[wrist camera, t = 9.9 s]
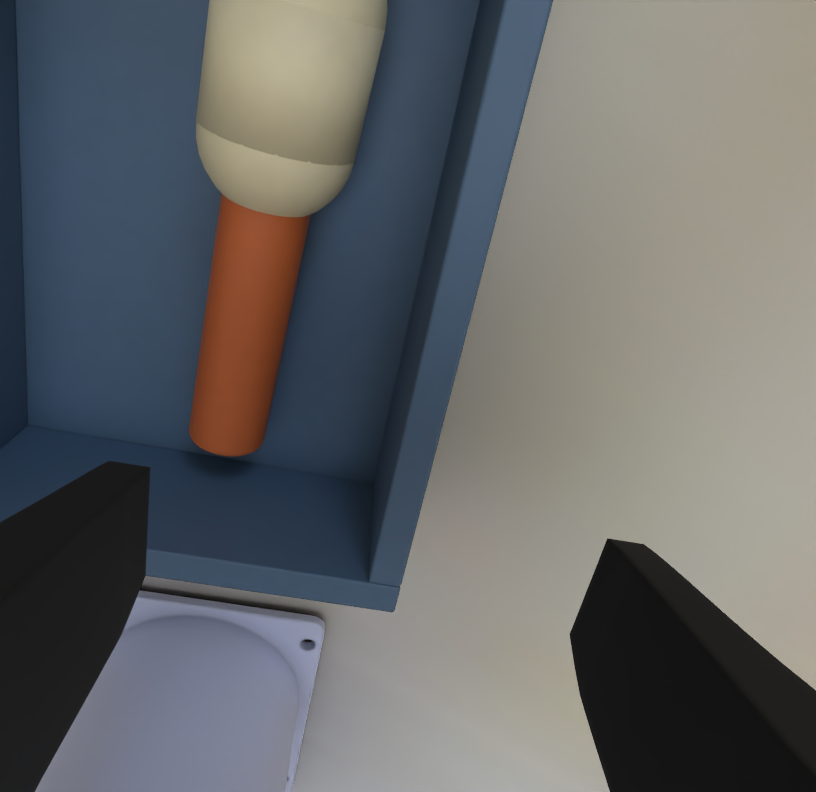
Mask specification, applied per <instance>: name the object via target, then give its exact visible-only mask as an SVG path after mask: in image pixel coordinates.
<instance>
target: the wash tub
mask: <svg viewBox="0 0 816 792" xmlns="http://www.w3.org/2000/svg"><path fill="white" fill-rule="evenodd" d="M552 2H553V0H387V6H388V12H387V19H386V27H385V33H384V37H383V42H382V46H381V50H380V55H379V59H378V63H377V68H376V72H375V76H374V81H373V85H372V89H371V94H370V98H369V102H368V107H367V111H366V115H365V120H364V124H363V128H362V133H361V137H360V141H359V146H358V150H357V154H356V159H355V162H354V165H353V168H352V171H351V174H350V177H349V179H348V180H347V182H346V184H345V185H344V187H343V189H342V190H341V191H340V192H339V194H338V195H337V196H336V197H335V198H334V199H333V200H332V201H331V202H330V203H328V204H327V205H326V206H324V207H323V208H322V209H320V210H319V211H317V212H315V213H312V214H311V216H310V221H309V226H308V231H307V235H306V240H305V245H304V250H303V255H302V260H301V264H300V269H299V274H298V279H297V284H296V288H295V293H294V298H293V303H292V308H291V313H290V317H289V322H288V327H287V332H286V337H285V342H284V346H283V351H282V356H281V361H280V366H279V370H278V375H277V380H276V385H275V390H274V395H273V399H272V404H271V409H270V414H269V419H268V424H267V428H266V433H265V438H264V442H263V443H262V445H261V446H260V447H259V448H258V449H257V450H256V451H254V452H252V453H250V454H247V455H243V456H221V455H216V454H213V453H210V452H207V451H205V450H203V449H202V448H200V447H199V446H197V445H196V444H195V443H194V442H193V440H192V439H191V437H190V434H189V424H190V417H191V409H192V402H193V395H194V388H195V381H196V373H197V366H198V359H199V352H200V344H201V337H202V330H203V323H204V316H205V308H206V301H207V294H208V287H209V280H210V272H211V265H212V258H213V251H214V243H215V236H216V229H217V222H218V215H219V207H220V200H221V192H220V191H219V190H218V189H217V188H216V186H215V185H214V183H213V182H212V180H211V178H210V177H209V175H208V174H207V172H206V170H205V169H204V166H203V163H202V161H201V158H200V156H199V152H198V146H197V141H196V114H197V106H198V97H199V88H200V79H201V70H202V62H203V53H204V44H205V35H206V26H207V18H208V9H209V0H0V522H2V521H3V520H5V519H7V518H9V517H10V516H12V515H14V514H16V513H18V512H19V511H21V510H23V509H25V508H26V507H28V506H30V505H32V504H34V503H35V502H37V501H39V500H41V499H42V498H44V497H46V496H48V495H49V494H51V493H53V492H55V491H56V490H58V489H60V488H61V487H63V486H65V485H67V484H68V483H70V482H72V481H73V480H75V479H77V478H79V477H80V476H82V475H84V474H85V473H87V472H89V471H91V470H92V469H94V468H96V467H98V466H100V465H102V464H104V463H105V462H107V461H114V462H120V463H127V464H133V465H140V466H146V467H150V486H149V509H148V531H147V554H146V576H152V577H159V578H166V579H173V580H179V581H186V582H193V583H199V584H206V585H213V586H220V587H226V588H233V589H240V590H246V591H253V592H260V593H267V594H273V595H280V596H287V597H293V598H300V599H307V600H314V601H320V602H327V603H334V604H340V605H347V606H354V607H361V608H367V609H374V610H381V611H387V612H393V611H394V610H395V606H396V603H397V599H398V595H399V591H400V585H401V583H402V579H403V576H404V572H405V568H406V564H407V560H408V556H409V552H410V549H411V545H412V541H413V537H414V533H415V529H416V526H417V522H418V518H419V514H420V510H421V506H422V502H423V499H424V495H425V491H426V487H427V483H428V479H429V476H430V472H431V468H432V464H433V460H434V456H435V452H436V449H437V445H438V441H439V437H440V433H441V429H442V426H443V422H444V418H445V414H446V410H447V406H448V402H449V399H450V395H451V391H452V387H453V383H454V379H455V376H456V372H457V368H458V364H459V360H460V356H461V352H462V349H463V345H464V341H465V337H466V333H467V329H468V325H469V322H470V318H471V314H472V310H473V306H474V302H475V299H476V295H477V291H478V287H479V283H480V279H481V275H482V272H483V268H484V264H485V260H486V256H487V252H488V249H489V245H490V241H491V237H492V233H493V229H494V225H495V222H496V218H497V214H498V210H499V206H500V202H501V199H502V195H503V191H504V187H505V183H506V179H507V175H508V172H509V168H510V164H511V160H512V156H513V152H514V149H515V145H516V141H517V137H518V133H519V129H520V125H521V122H522V118H523V114H524V110H525V106H526V102H527V99H528V95H529V91H530V87H531V83H532V79H533V75H534V72H535V68H536V64H537V60H538V56H539V52H540V49H541V45H542V41H543V37H544V33H545V29H546V25H547V22H548V18H549V14H550V10H551V6H552Z"/></svg>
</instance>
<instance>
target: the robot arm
mask: <svg viewBox="0 0 816 792" xmlns="http://www.w3.org/2000/svg"><path fill="white" fill-rule="evenodd" d="M149 486H150V467H146V466H140V465H133V464H127V463H120V462H114V461H107V462H105V463H104V464H102V465H100V466H98V467H96V468H94V469H92V470H91V471H89V472H87V473H85V474H84V475H82V476H80V477H79V478H77V479H75V480H73V481H72V482H70V483H68V484H67V485H65V486H63V487H61V488H60V489H58V490H56V491H55V492H53V493H51V494H49V495H48V496H46V497H44V498H42V499H41V500H39V501H37V502H35V503H34V504H32V505H30V506H28V507H26V508H25V509H23V510H21V511H19V512H18V513H16V514H14V515H12V516H10V517H9V518H7V519H5V520H3V521H2V522H0V792H292V788H293V783H294V778H295V774H296V769H297V764H298V759H299V754H300V750H301V745H302V740H303V735H304V730H305V725H306V721H307V716H308V711H309V706H310V701H311V697H312V692H313V687H314V682H315V677H316V672H317V668H318V663H319V658H320V653H321V648H322V644H323V639H324V633H325V624H324V622H323V620H321V619H320V618H319V617H316V616H312V615H305V614H298V613H291V612H284V611H278V610H271V609H264V608H257V607H250V606H243V605H237V604H230V603H223V602H216V601H209V600H203V599H196V598H189V597H182V596H175V595H168V594H162V593H155V592H148V591H141V590H140V588H141V585H142V583H143V580H144V578H145V575H146V554H147V531H148V509H149ZM304 639H310V640H312V642H306V641H304ZM570 639H571V645H572V652H573V658H574V665H575V670H576V676H577V681H578V686H579V691H580V696H581V700H582V703H583V706H584V710H585V713H586V716H587V720H588V723H589V726H590V729H591V733H592V736H593V739H594V742H595V746H596V749H597V752H598V755H599V758H600V761H601V765H602V768H603V771H604V774H605V777H606V780H607V783H608V787H609V790H610V792H816V690H814V689H813V688H812V687H811V686H810V685H808V684H807V683H806V682H805V681H803V680H802V679H801V678H800V677H798V676H797V675H796V674H795V673H793V672H792V671H791V670H790V669H788V668H787V667H786V666H785V665H784V664H782V663H781V662H780V661H779V660H778V659H776V658H775V657H774V656H773V655H772V654H770V653H769V652H768V651H767V650H766V649H765V648H763V647H762V646H761V645H760V644H759V643H758V642H756V641H755V640H754V639H753V638H752V637H751V636H749V635H748V634H747V633H746V632H745V631H744V630H743V629H741V628H740V627H739V626H738V625H737V624H736V623H735V622H733V621H732V620H731V619H730V618H729V617H728V616H727V615H726V614H724V613H723V612H722V611H721V610H720V609H719V608H718V607H717V606H715V605H714V604H713V603H712V602H711V601H710V600H709V599H708V598H706V597H705V596H704V595H703V594H702V593H701V592H700V591H699V590H698V589H696V588H695V587H694V586H693V585H692V584H691V583H690V582H689V581H687V580H686V579H685V578H684V577H683V576H682V575H681V574H679V573H678V572H677V571H676V570H675V569H674V568H673V567H671V566H670V565H669V564H668V563H667V562H666V561H664V560H663V559H662V558H661V557H660V556H658V555H657V554H656V553H655V552H653V551H652V550H651V549H649V548H648V547H647V546H645V545H644V544H639V543H633V542H626V541H620V540H613V539H607V541H606V544H605V546H604V549H603V551H602V554H601V556H600V559H599V562H598V564H597V567H596V569H595V572H594V574H593V577H592V579H591V582H590V584H589V587H588V589H587V592H586V595H585V597H584V600H583V602H582V605H581V607H580V610H579V612H578V615H577V617H576V620H575V622H574V625H573V628H572V630H571V633H570Z"/></svg>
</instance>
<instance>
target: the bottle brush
mask: <svg viewBox="0 0 816 792" xmlns="http://www.w3.org/2000/svg"><path fill="white" fill-rule="evenodd" d="M387 12H388V6H387V0H209V9H208V18H207V26H206V35H205V44H204V53H203V62H202V70H201V79H200V88H199V97H198V106H197V114H196V141H197V146H198V152H199V156H200V158H201V161H202V163H203V166H204V169H205V170H206V172H207V174H208V175H209V177H210V178H211V180H212V182H213V183H214V185H215V186H216V188H217V189H218V190H219V191H220V192H221V200H220V207H219V215H218V222H217V229H216V236H215V243H214V251H213V258H212V265H211V272H210V280H209V287H208V294H207V301H206V308H205V316H204V323H203V330H202V337H201V344H200V352H199V359H198V366H197V373H196V381H195V388H194V395H193V402H192V409H191V417H190V424H189V434H190V437H191V439H192V440H193V442H194V443H195V444H196V445H197V446H199V447H200V448H202V449H203V450H205V451H207V452H210V453H213V454H216V455H221V456H243V455H247V454H250V453H252V452H254V451H256V450H257V449H258V448H259V447H260V446H261V445H262V443H263V442H264V438H265V433H266V428H267V424H268V419H269V414H270V409H271V404H272V399H273V395H274V390H275V385H276V380H277V375H278V370H279V366H280V361H281V356H282V351H283V346H284V342H285V337H286V332H287V327H288V322H289V317H290V313H291V308H292V303H293V298H294V293H295V288H296V284H297V279H298V274H299V269H300V264H301V260H302V255H303V250H304V245H305V240H306V235H307V231H308V226H309V221H310V216H311V214H312V213H315V212H317V211H319V210H320V209H322V208H323V207H324V206H326V205H327V204H328V203H330V202H331V201H332V200H333V199H334V198H335V197H336V196H337V195H338V194H339V192H340V191H341V190H342V189H343V187H344V185H345V184H346V182H347V180H348V179H349V177H350V174H351V171H352V168H353V165H354V162H355V159H356V154H357V150H358V146H359V141H360V137H361V133H362V128H363V124H364V120H365V115H366V111H367V107H368V102H369V98H370V94H371V89H372V85H373V81H374V76H375V72H376V68H377V63H378V59H379V55H380V50H381V46H382V42H383V37H384V33H385V27H386V19H387Z"/></svg>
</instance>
